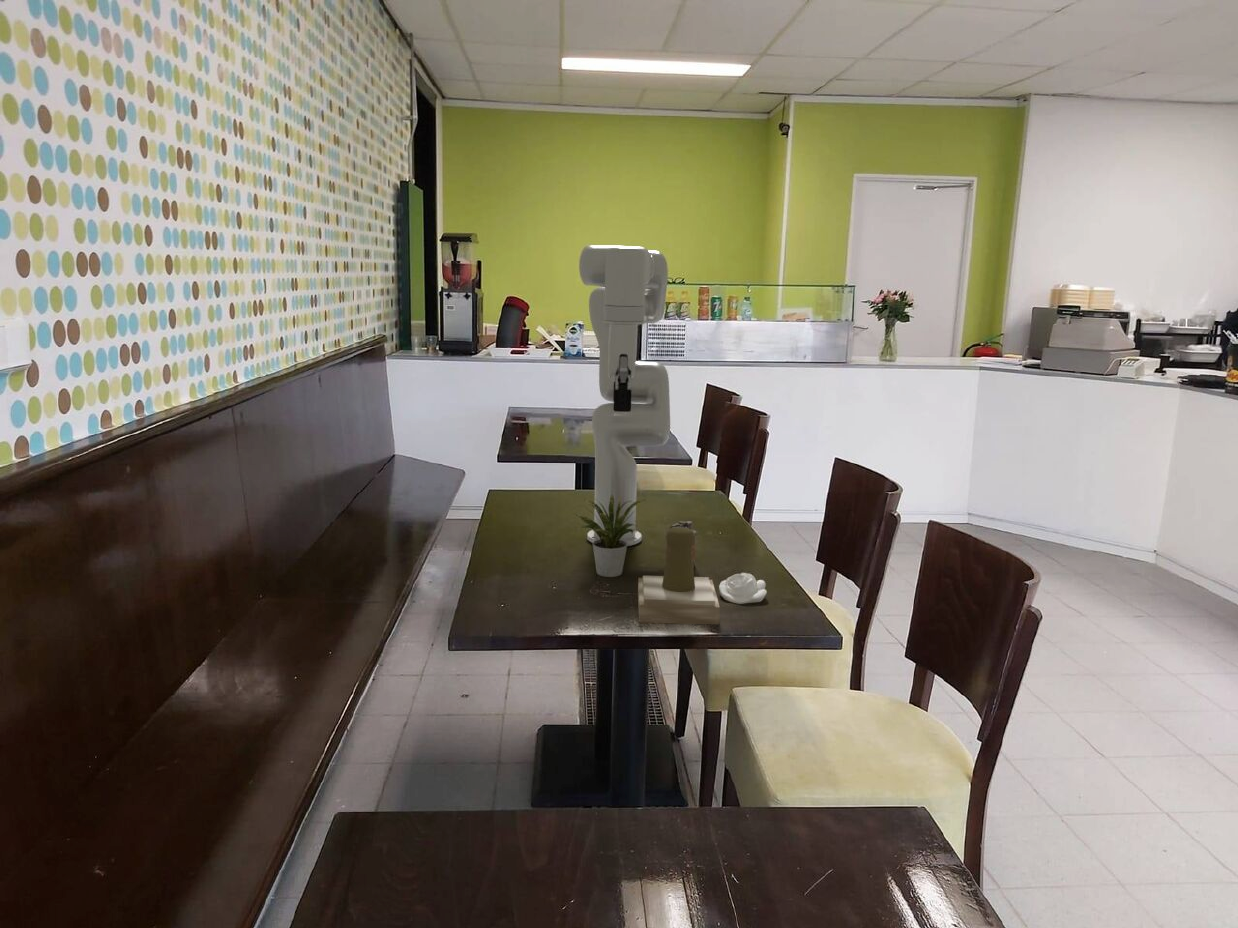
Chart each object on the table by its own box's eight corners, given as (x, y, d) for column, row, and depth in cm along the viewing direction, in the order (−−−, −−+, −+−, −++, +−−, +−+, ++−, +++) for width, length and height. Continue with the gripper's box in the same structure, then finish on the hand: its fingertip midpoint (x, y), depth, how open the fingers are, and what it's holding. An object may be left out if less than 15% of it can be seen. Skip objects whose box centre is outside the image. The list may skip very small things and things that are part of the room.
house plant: (622, 556, 187) (624, 483, 183) (660, 574, 175) (663, 497, 172) (565, 566, 179) (566, 490, 175) (601, 587, 168) (603, 505, 164)
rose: (779, 575, 165) (751, 587, 158) (778, 596, 166) (750, 610, 158) (736, 562, 171) (707, 574, 164) (735, 583, 172) (706, 596, 165)
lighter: (686, 562, 184) (688, 516, 182) (698, 566, 182) (700, 520, 180) (661, 570, 178) (662, 523, 176) (673, 574, 176) (675, 527, 174)
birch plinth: (638, 593, 164) (638, 574, 164) (711, 595, 164) (712, 575, 164) (638, 622, 151) (639, 600, 150) (718, 624, 151) (720, 602, 150)
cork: (687, 594, 154) (690, 534, 151) (656, 588, 156) (658, 529, 154) (699, 584, 159) (702, 526, 157) (669, 578, 161) (671, 522, 159)
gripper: (604, 312, 168) (602, 399, 172) (603, 318, 151) (601, 414, 155) (642, 313, 168) (640, 400, 172) (646, 319, 151) (643, 415, 155)
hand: (621, 406), depth 163 cm, fingers open, 9 cm apart
